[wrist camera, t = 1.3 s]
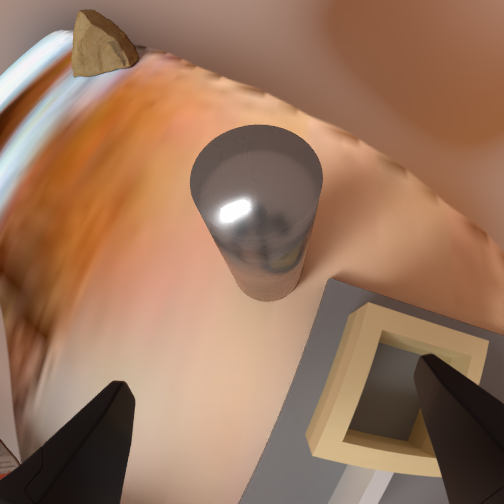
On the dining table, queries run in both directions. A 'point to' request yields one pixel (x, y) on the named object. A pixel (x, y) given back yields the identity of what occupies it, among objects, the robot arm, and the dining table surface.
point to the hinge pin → (259, 205)
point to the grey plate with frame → (367, 404)
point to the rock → (99, 45)
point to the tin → (7, 460)
